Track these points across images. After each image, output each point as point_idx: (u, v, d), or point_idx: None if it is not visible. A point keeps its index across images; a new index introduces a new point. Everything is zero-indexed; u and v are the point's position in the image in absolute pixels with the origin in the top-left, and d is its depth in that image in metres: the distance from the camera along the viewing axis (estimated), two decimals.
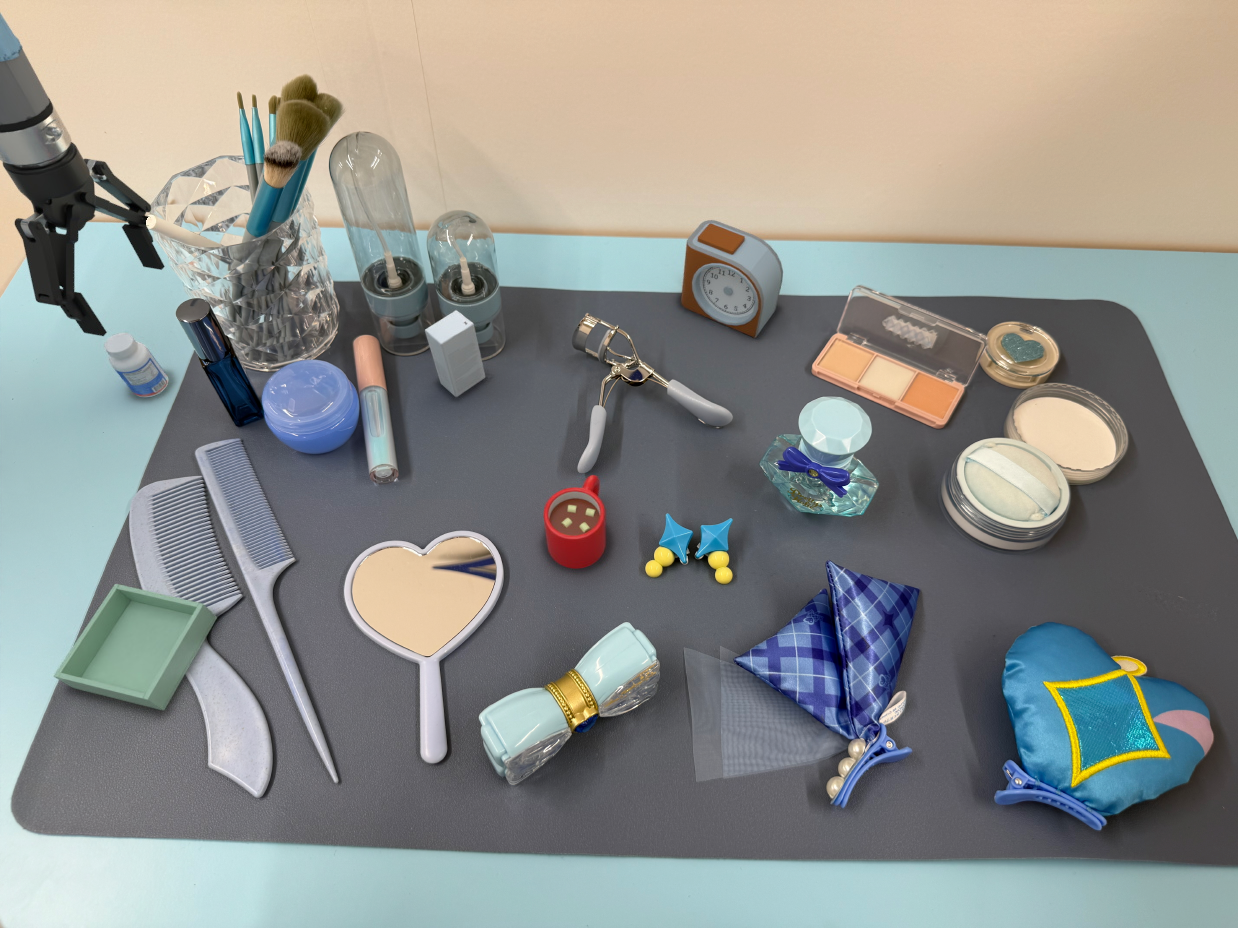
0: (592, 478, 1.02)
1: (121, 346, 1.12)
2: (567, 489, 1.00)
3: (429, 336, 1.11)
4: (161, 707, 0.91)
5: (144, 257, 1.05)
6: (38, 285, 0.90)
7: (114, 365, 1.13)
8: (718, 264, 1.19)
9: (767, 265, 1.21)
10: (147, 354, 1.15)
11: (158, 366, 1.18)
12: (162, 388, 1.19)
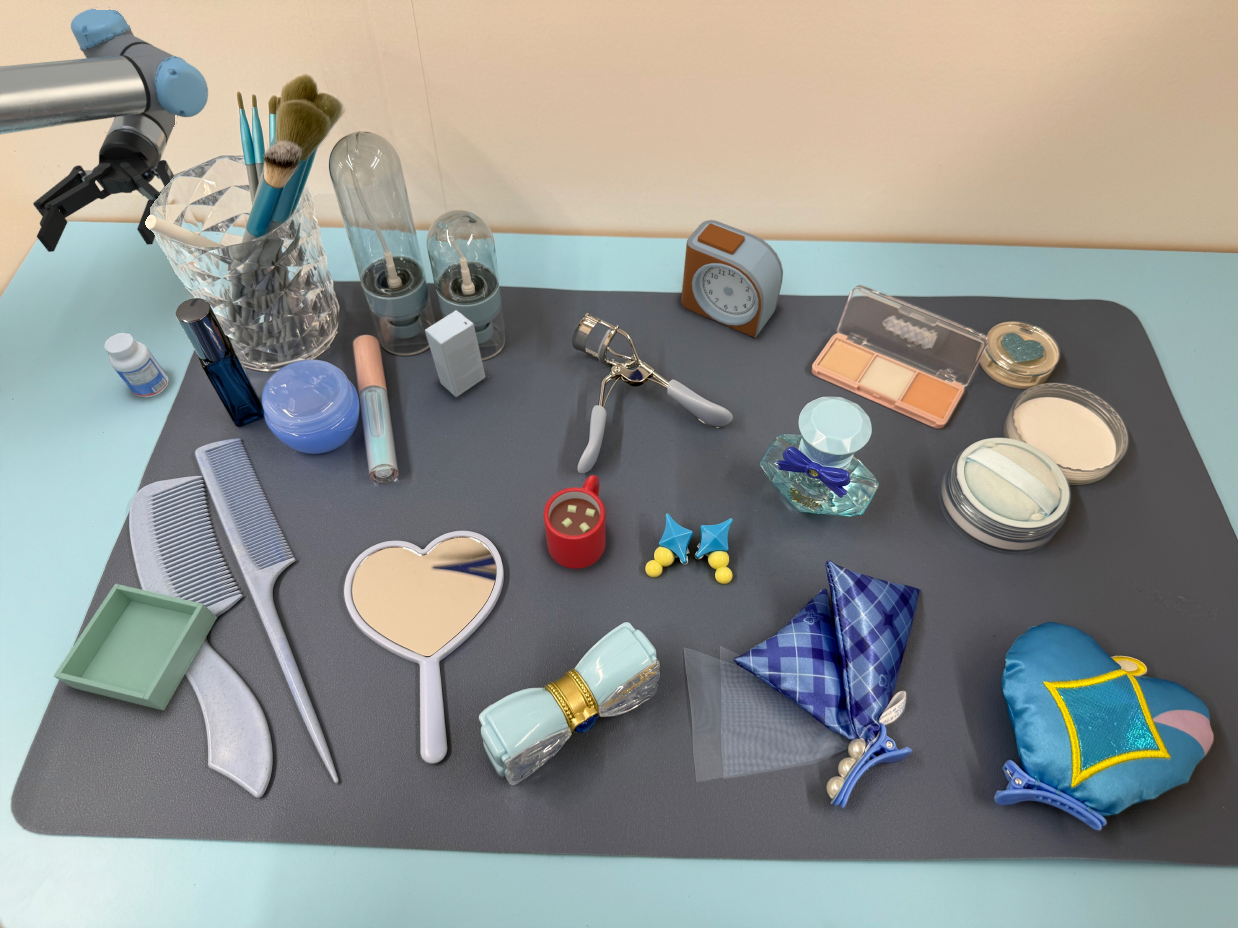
0: (592, 478, 1.02)
1: (121, 346, 1.12)
2: (567, 489, 1.00)
3: (429, 336, 1.11)
4: (161, 707, 0.91)
5: (50, 233, 1.09)
6: None
7: (114, 365, 1.13)
8: (718, 264, 1.19)
9: (767, 265, 1.21)
10: (147, 354, 1.15)
11: (158, 366, 1.18)
12: (162, 388, 1.19)
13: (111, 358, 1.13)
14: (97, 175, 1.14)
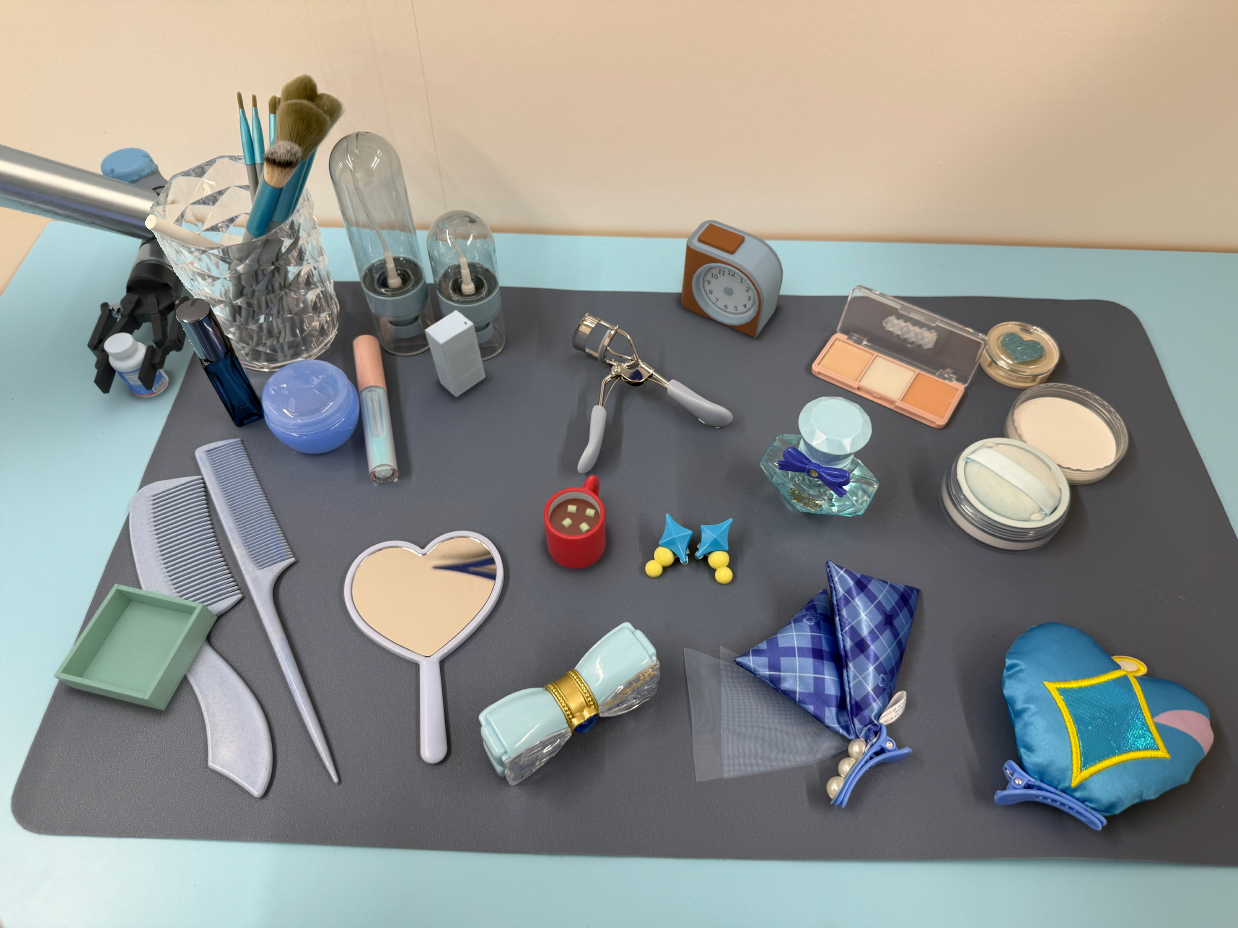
0: (592, 478, 1.02)
1: (121, 346, 1.12)
2: (567, 489, 1.00)
3: (429, 336, 1.11)
4: (161, 707, 0.91)
5: (105, 376, 1.13)
6: (179, 333, 1.18)
7: (114, 365, 1.13)
8: (718, 264, 1.19)
9: (767, 265, 1.21)
10: None
11: None
12: (162, 388, 1.19)
13: (111, 358, 1.13)
14: (131, 308, 1.19)
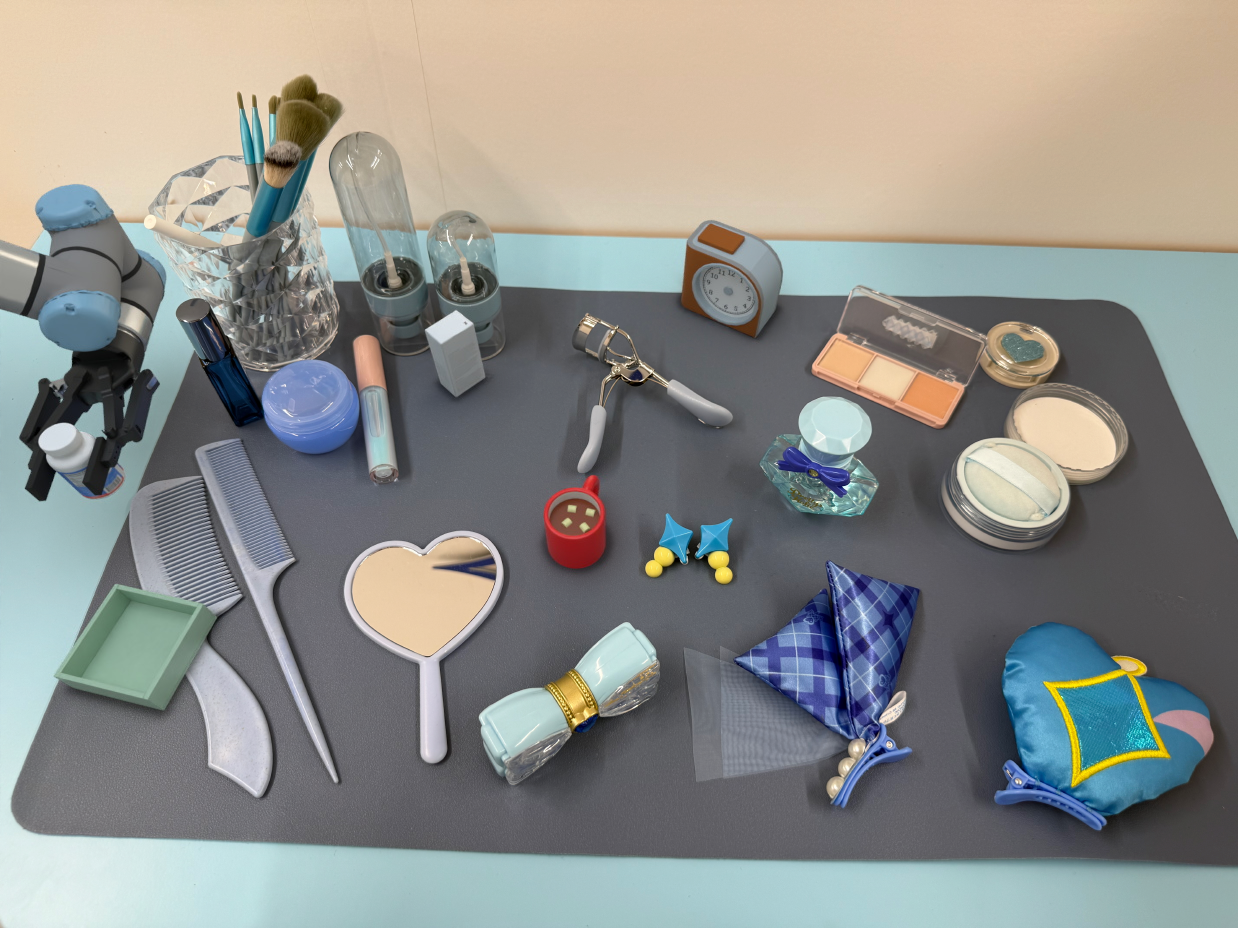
0: (592, 478, 1.02)
1: (61, 441, 0.87)
2: (567, 489, 1.00)
3: (429, 336, 1.11)
4: (161, 707, 0.91)
5: (41, 479, 0.88)
6: (138, 418, 0.93)
7: (53, 464, 0.88)
8: (718, 264, 1.19)
9: (767, 265, 1.21)
10: None
11: None
12: (117, 487, 0.94)
13: (49, 455, 0.89)
14: (77, 386, 0.94)
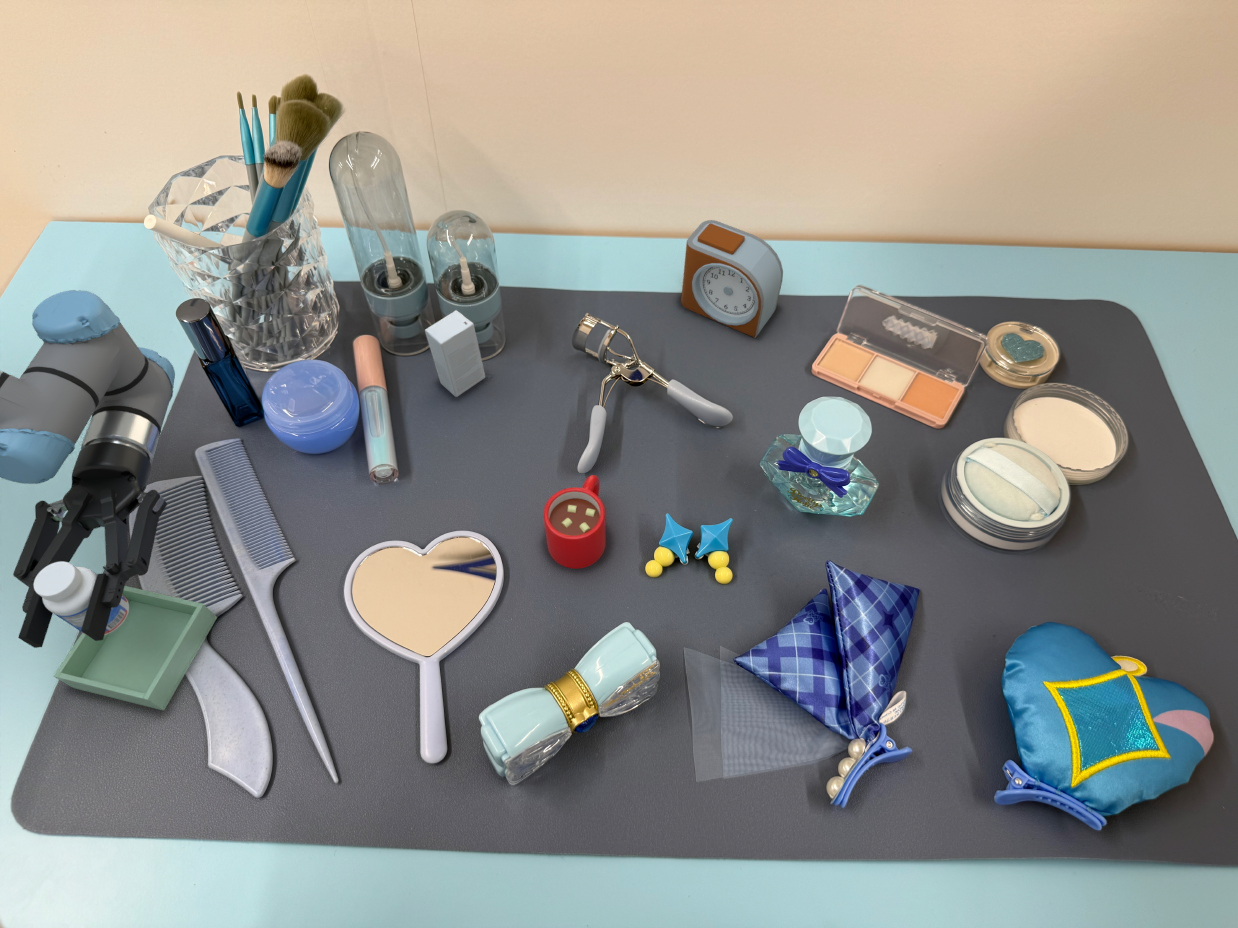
0: (592, 478, 1.02)
1: (58, 584, 0.79)
2: (567, 489, 1.00)
3: (429, 336, 1.11)
4: (161, 707, 0.91)
5: (37, 624, 0.80)
6: (143, 549, 0.85)
7: (49, 607, 0.80)
8: (718, 264, 1.19)
9: (767, 265, 1.21)
10: None
11: None
12: (120, 622, 0.86)
13: None
14: (77, 512, 0.87)
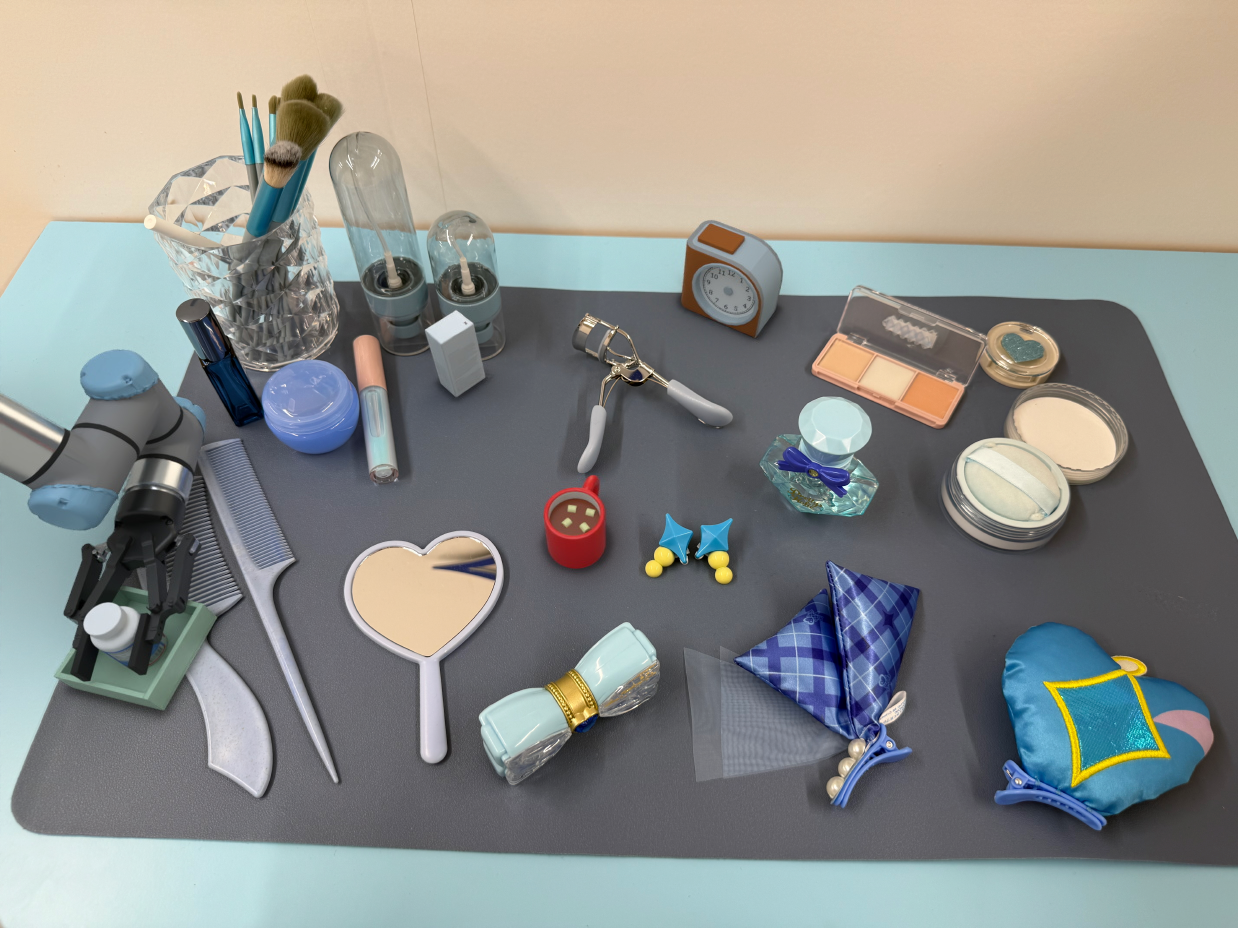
0: (592, 478, 1.02)
1: (106, 624, 0.86)
2: (567, 489, 1.00)
3: (429, 336, 1.11)
4: (161, 707, 0.91)
5: (86, 660, 0.88)
6: (182, 589, 0.93)
7: (97, 645, 0.88)
8: (718, 264, 1.19)
9: (767, 265, 1.21)
10: None
11: None
12: (159, 656, 0.94)
13: None
14: (120, 554, 0.94)
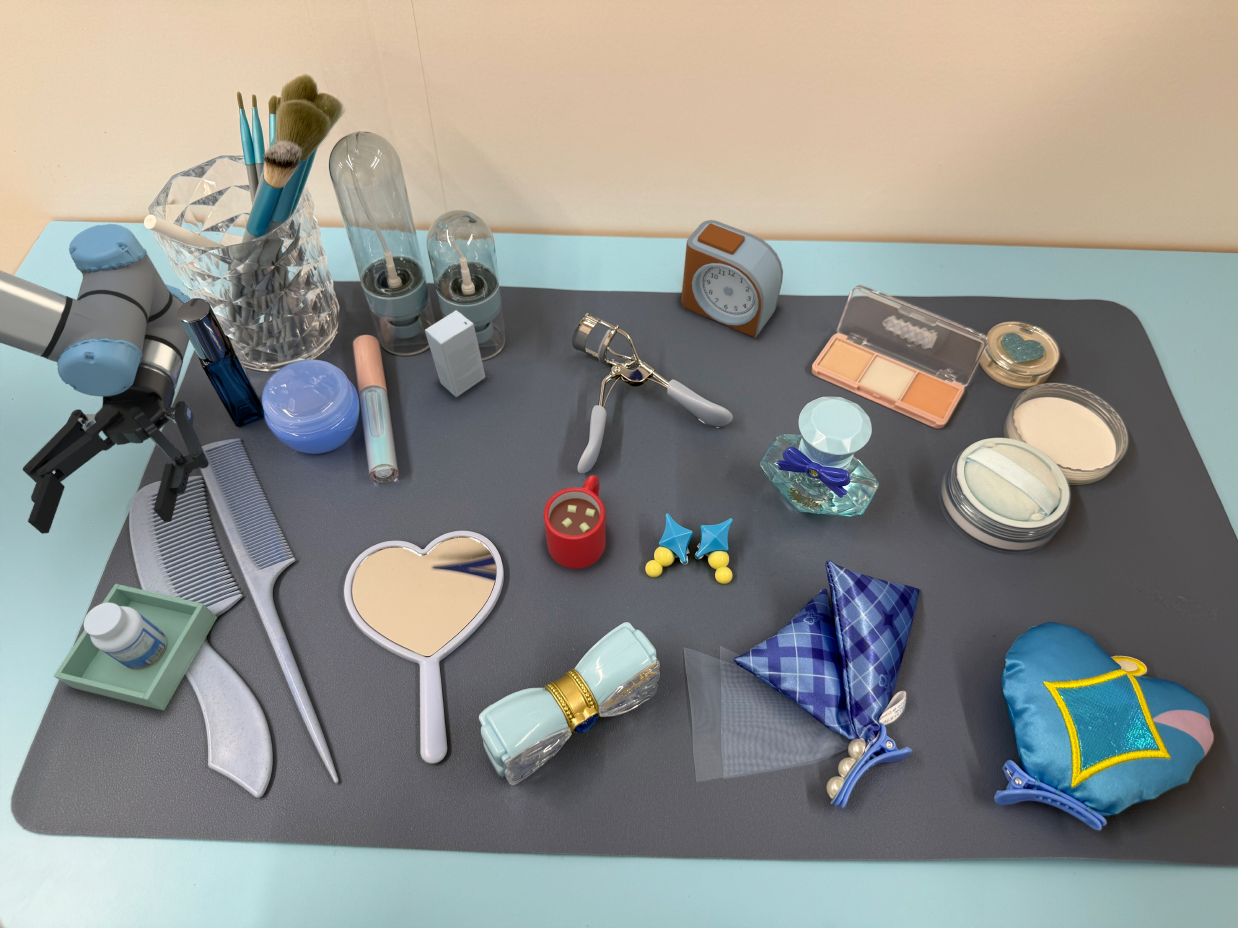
0: (592, 478, 1.02)
1: (106, 624, 0.86)
2: (567, 489, 1.00)
3: (429, 336, 1.11)
4: (161, 707, 0.91)
5: (44, 512, 0.89)
6: (198, 445, 0.94)
7: (97, 645, 0.88)
8: (718, 264, 1.19)
9: (767, 265, 1.21)
10: (139, 625, 0.89)
11: (154, 632, 0.92)
12: (159, 656, 0.94)
13: None
14: (101, 426, 0.94)
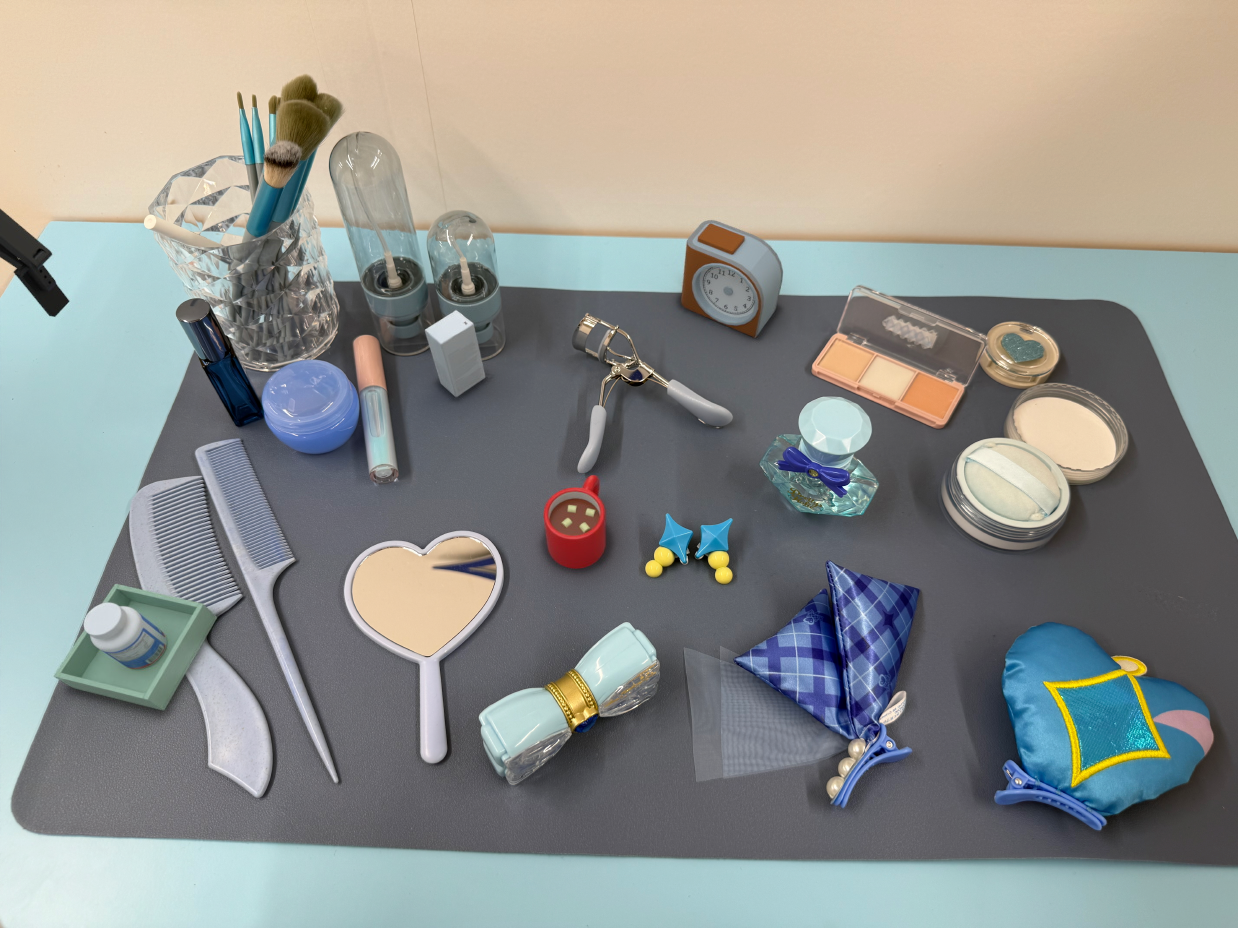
0: (592, 478, 1.02)
1: (106, 624, 0.86)
2: (567, 489, 1.00)
3: (429, 336, 1.11)
4: (161, 707, 0.91)
5: None
6: (24, 247, 0.81)
7: (97, 645, 0.88)
8: (718, 264, 1.19)
9: (767, 265, 1.21)
10: (139, 625, 0.89)
11: (154, 632, 0.92)
12: (159, 656, 0.94)
13: None
14: None
